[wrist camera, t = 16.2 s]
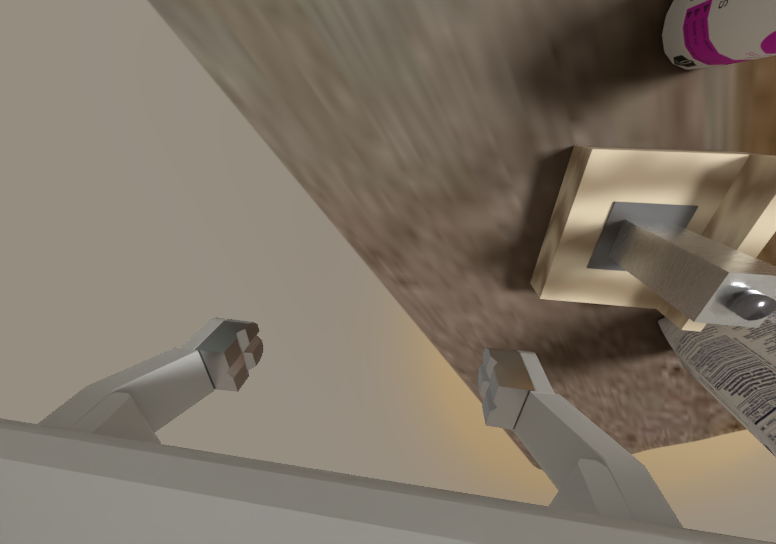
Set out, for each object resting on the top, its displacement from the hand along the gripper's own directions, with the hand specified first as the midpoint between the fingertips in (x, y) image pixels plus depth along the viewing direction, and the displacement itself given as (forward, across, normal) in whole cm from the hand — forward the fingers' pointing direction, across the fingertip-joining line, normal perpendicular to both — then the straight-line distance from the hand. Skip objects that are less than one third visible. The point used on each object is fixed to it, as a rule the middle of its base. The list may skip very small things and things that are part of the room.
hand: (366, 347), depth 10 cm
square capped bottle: (+25, +26, -4) cm, 36 cm away
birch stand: (+29, +26, -4) cm, 39 cm away
